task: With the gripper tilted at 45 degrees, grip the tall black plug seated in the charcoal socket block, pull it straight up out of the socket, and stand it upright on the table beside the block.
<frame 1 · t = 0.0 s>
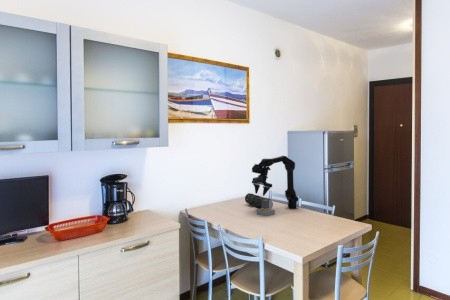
hand: (259, 194, 239), 15 cm above the table, tool pointing down, fingers open, 9 cm apart
black cylindrical piece: (258, 208, 259), on the table
socket block: (265, 215, 236), on the table
plug: (265, 214, 236), point 1 cm above the table, touching socket block
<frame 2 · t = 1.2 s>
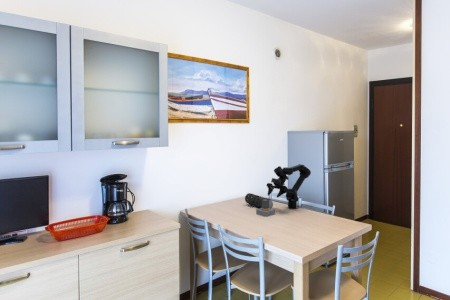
hand: (272, 196, 241), 14 cm above the table, tool tilted 45°, fingers open, 9 cm apart
nothing on the table moved.
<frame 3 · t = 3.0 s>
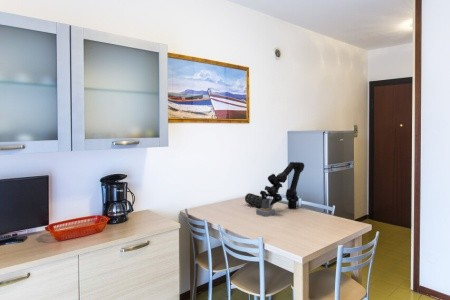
hand: (265, 204, 236), 8 cm above the table, tool tilted 45°, fingers open, 9 cm apart
nothing on the table moved.
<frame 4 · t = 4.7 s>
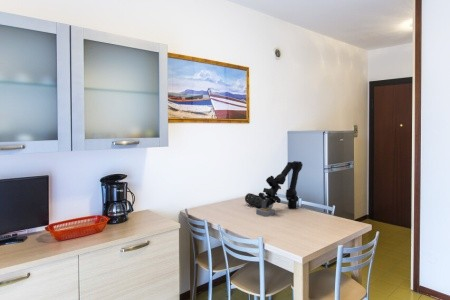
hand: (264, 206, 235), 7 cm above the table, tool tilted 45°, fingers closed on plug, 4 cm apart
plug: (265, 214, 236), point 1 cm above the table, touching gripper, socket block
everything else where it was.
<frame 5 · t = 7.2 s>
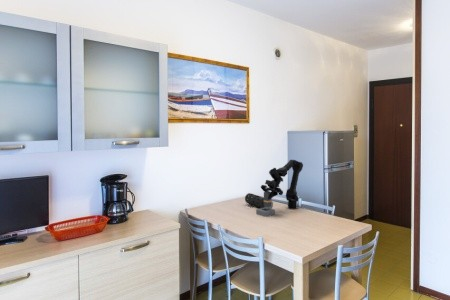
hand: (266, 198, 233), 14 cm above the table, tool tilted 45°, fingers closed on plug, 4 cm apart
plug: (267, 206, 234), point 7 cm above the table, touching gripper
everything else where it was.
when the fingers open (7 cm above the table, at t = 9.8 s): plug drops 1 cm, on the table.
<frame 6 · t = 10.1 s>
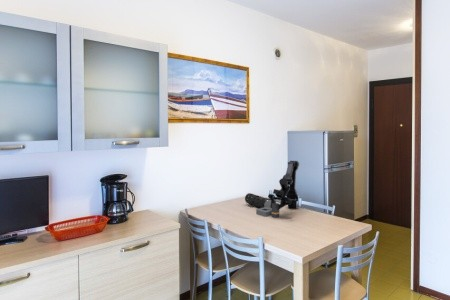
hand: (274, 208, 227), 8 cm above the table, tool tilted 45°, fingers open, 7 cm apart
plug: (275, 218, 229), on the table
everything else where it was.
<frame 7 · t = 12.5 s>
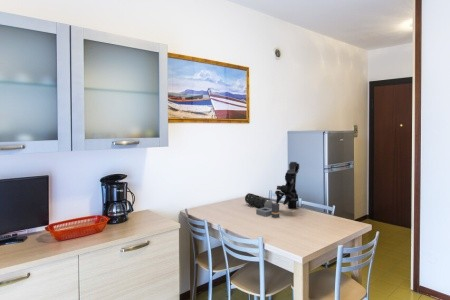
hand: (280, 204, 236), 9 cm above the table, tool tilted 35°, fingers open, 9 cm apart
nothing on the table moved.
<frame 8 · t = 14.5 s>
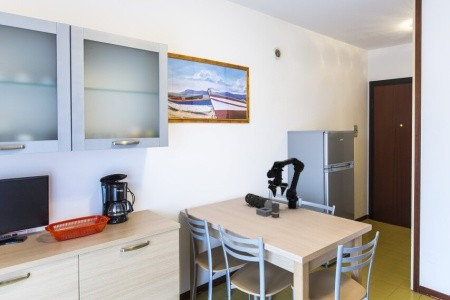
hand: (278, 196, 247), 12 cm above the table, tool pointing down, fingers open, 9 cm apart
nothing on the table moved.
at the end: plug inside the target area on the table beside the socket block (0.0 cm from its centre), on the table; plug tilted 0°; the gripper is holding nothing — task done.
